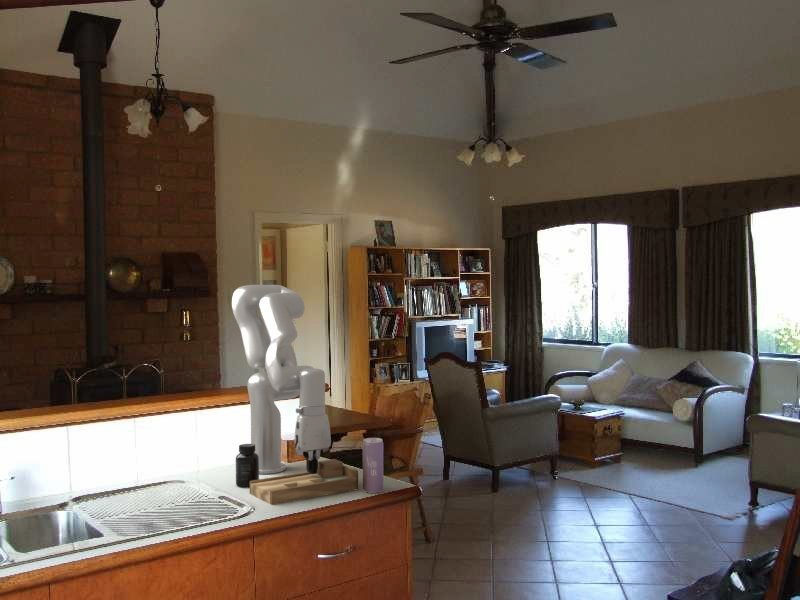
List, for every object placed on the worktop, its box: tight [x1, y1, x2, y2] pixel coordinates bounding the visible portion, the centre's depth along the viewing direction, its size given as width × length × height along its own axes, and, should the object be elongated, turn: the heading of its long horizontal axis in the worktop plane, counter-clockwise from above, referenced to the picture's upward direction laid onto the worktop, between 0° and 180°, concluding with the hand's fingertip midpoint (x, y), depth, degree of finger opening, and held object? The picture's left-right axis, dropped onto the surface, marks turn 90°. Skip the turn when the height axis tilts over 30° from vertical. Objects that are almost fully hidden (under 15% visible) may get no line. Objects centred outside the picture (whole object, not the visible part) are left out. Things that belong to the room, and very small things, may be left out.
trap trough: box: [249, 464, 359, 505], centre depth 236 cm, size 14×28×6 cm, turn 125°
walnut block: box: [317, 458, 344, 478], centre depth 243 cm, size 5×6×4 cm
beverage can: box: [362, 437, 384, 494], centre depth 237 cm, size 6×6×15 cm
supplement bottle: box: [235, 443, 260, 488], centre depth 243 cm, size 7×7×12 cm
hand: (312, 472), depth 241 cm, fingers closed
